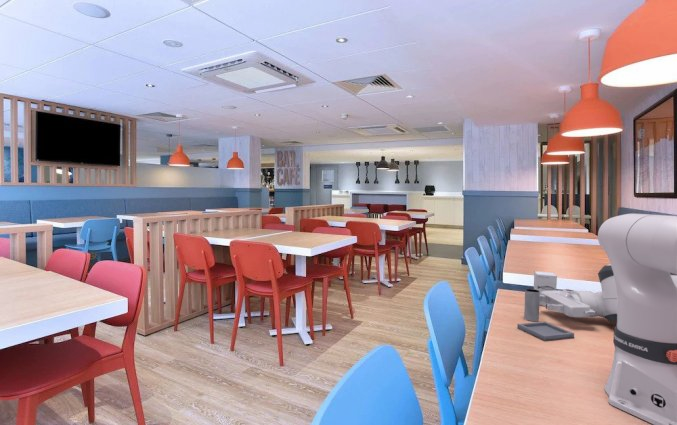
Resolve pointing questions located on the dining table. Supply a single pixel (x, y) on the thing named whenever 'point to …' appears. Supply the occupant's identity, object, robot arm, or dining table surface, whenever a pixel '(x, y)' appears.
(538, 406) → the dining table surface
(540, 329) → the tray
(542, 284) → the supplement box
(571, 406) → the dining table surface
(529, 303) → the grey cylindrical container
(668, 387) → the robot arm
